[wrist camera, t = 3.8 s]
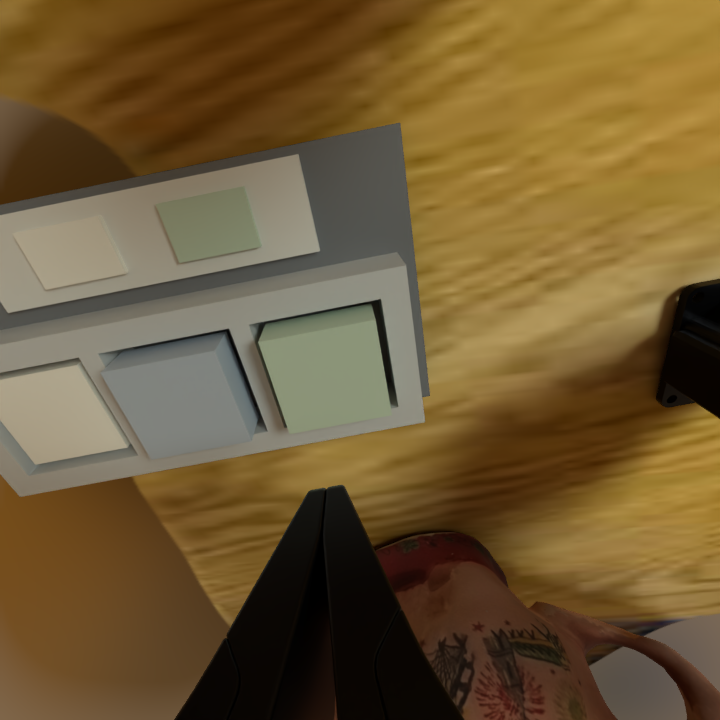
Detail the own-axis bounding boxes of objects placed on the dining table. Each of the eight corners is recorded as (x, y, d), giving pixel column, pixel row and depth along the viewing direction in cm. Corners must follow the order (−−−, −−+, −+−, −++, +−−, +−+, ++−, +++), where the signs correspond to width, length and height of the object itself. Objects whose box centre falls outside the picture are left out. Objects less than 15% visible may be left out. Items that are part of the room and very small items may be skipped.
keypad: (395, 124, 13) (411, 117, 11) (425, 384, 19) (440, 422, 16) (-117, 230, 14) (-221, 247, 11) (52, 454, 19) (7, 501, 17)
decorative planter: (579, 447, 21) (910, 838, 9) (605, 565, 27) (835, 908, 15) (268, 561, 24) (203, 975, 12) (350, 647, 30) (362, 990, 18)
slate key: (226, 331, 14) (214, 350, 13) (258, 416, 16) (251, 441, 15) (122, 351, 14) (99, 372, 13) (167, 433, 16) (151, 459, 15)
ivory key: (100, 345, 15) (76, 365, 14) (144, 423, 17) (127, 447, 16) (4, 364, 15) (-28, 385, 14) (59, 439, 17) (35, 464, 16)
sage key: (371, 303, 14) (375, 319, 13) (386, 392, 16) (392, 415, 15) (265, 323, 14) (258, 342, 13) (293, 409, 16) (289, 434, 15)
